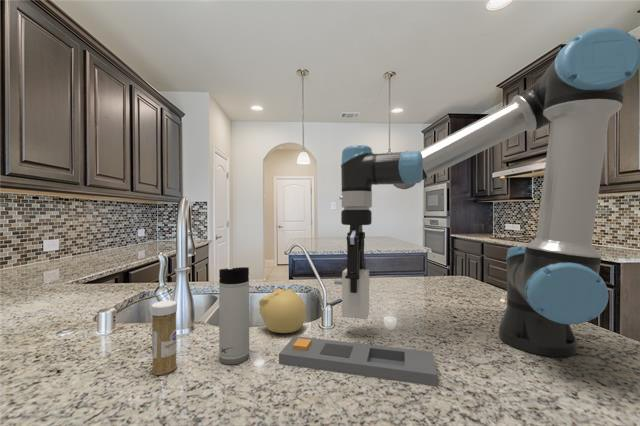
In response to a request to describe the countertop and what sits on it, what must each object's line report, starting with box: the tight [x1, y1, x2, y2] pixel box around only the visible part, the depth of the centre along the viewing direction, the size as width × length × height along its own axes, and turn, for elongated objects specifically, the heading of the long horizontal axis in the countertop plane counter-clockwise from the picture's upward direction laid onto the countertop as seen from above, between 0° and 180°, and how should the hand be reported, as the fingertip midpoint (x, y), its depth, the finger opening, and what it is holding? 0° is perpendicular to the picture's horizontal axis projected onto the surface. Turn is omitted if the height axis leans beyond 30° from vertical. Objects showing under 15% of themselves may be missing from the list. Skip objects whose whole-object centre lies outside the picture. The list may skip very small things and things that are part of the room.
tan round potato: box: [258, 288, 307, 334], centre depth 81 cm, size 12×12×11 cm
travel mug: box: [218, 266, 250, 365], centre depth 65 cm, size 6×7×20 cm
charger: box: [333, 267, 370, 320], centre depth 75 cm, size 8×5×11 cm, turn 74°
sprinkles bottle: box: [150, 300, 178, 376], centre depth 60 cm, size 5×5×14 cm
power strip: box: [278, 335, 438, 387], centre depth 61 cm, size 30×9×4 cm, turn 74°
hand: (356, 301), depth 75 cm, fingers closed on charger, 5 cm apart
